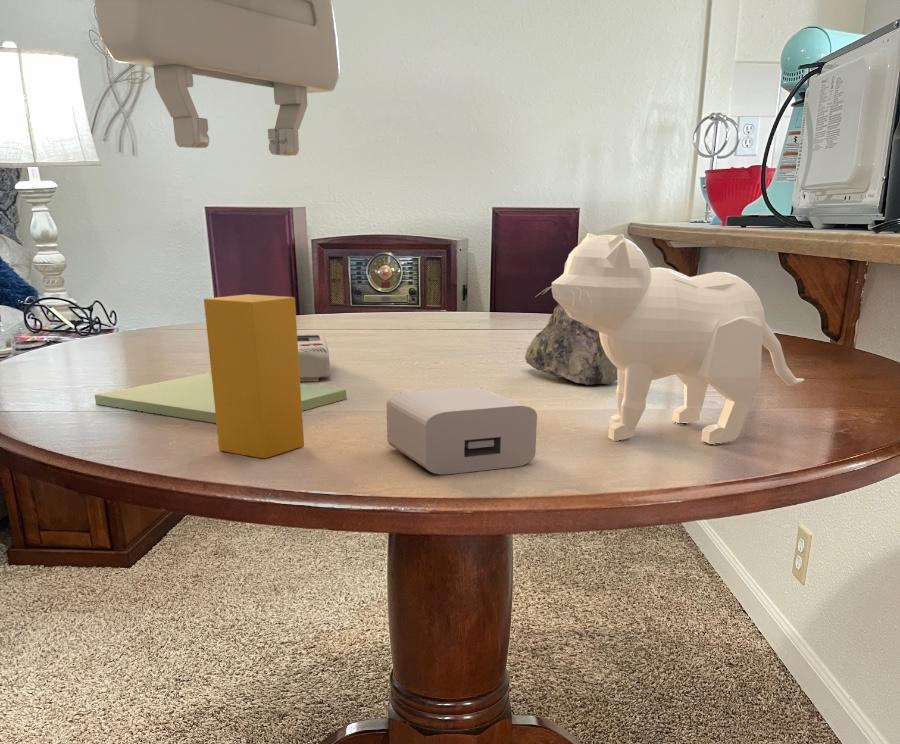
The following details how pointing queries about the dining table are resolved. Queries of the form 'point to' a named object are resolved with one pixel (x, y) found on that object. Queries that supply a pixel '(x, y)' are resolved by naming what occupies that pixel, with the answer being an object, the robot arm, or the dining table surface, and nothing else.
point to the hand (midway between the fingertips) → (241, 151)
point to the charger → (461, 429)
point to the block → (255, 373)
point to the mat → (196, 397)
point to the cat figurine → (669, 332)
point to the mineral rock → (571, 351)
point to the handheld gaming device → (313, 357)
